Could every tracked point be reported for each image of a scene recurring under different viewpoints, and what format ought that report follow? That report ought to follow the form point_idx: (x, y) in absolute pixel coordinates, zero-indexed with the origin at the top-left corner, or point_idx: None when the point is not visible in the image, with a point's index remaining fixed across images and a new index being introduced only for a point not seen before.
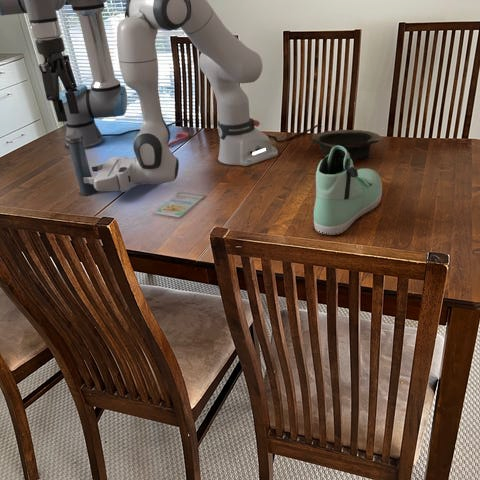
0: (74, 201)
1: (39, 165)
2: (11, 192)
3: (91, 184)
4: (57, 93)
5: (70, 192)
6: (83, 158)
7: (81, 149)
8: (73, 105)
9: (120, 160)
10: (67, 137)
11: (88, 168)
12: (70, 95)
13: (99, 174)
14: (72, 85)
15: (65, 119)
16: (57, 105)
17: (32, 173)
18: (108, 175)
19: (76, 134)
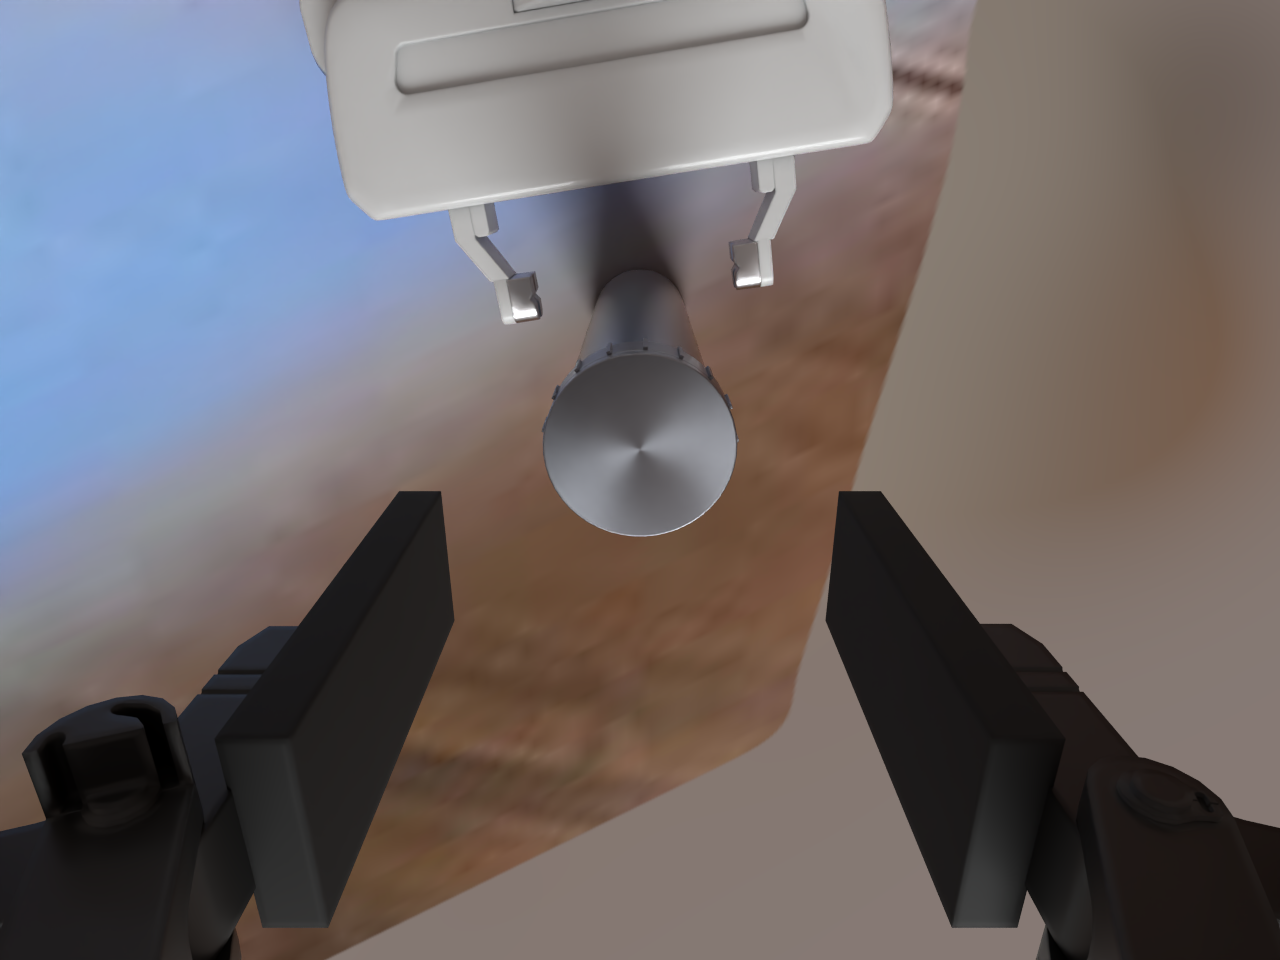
0: (774, 350)
1: None
2: (650, 767)
3: (652, 279)
4: (1266, 937)
5: None
6: (672, 322)
7: (673, 339)
8: (403, 611)
9: (409, 65)
10: (686, 504)
11: (639, 296)
12: (330, 765)
13: (761, 132)
14: (49, 925)
15: (893, 512)
16: (1096, 720)
17: (398, 783)
18: (772, 34)
19: (584, 441)
